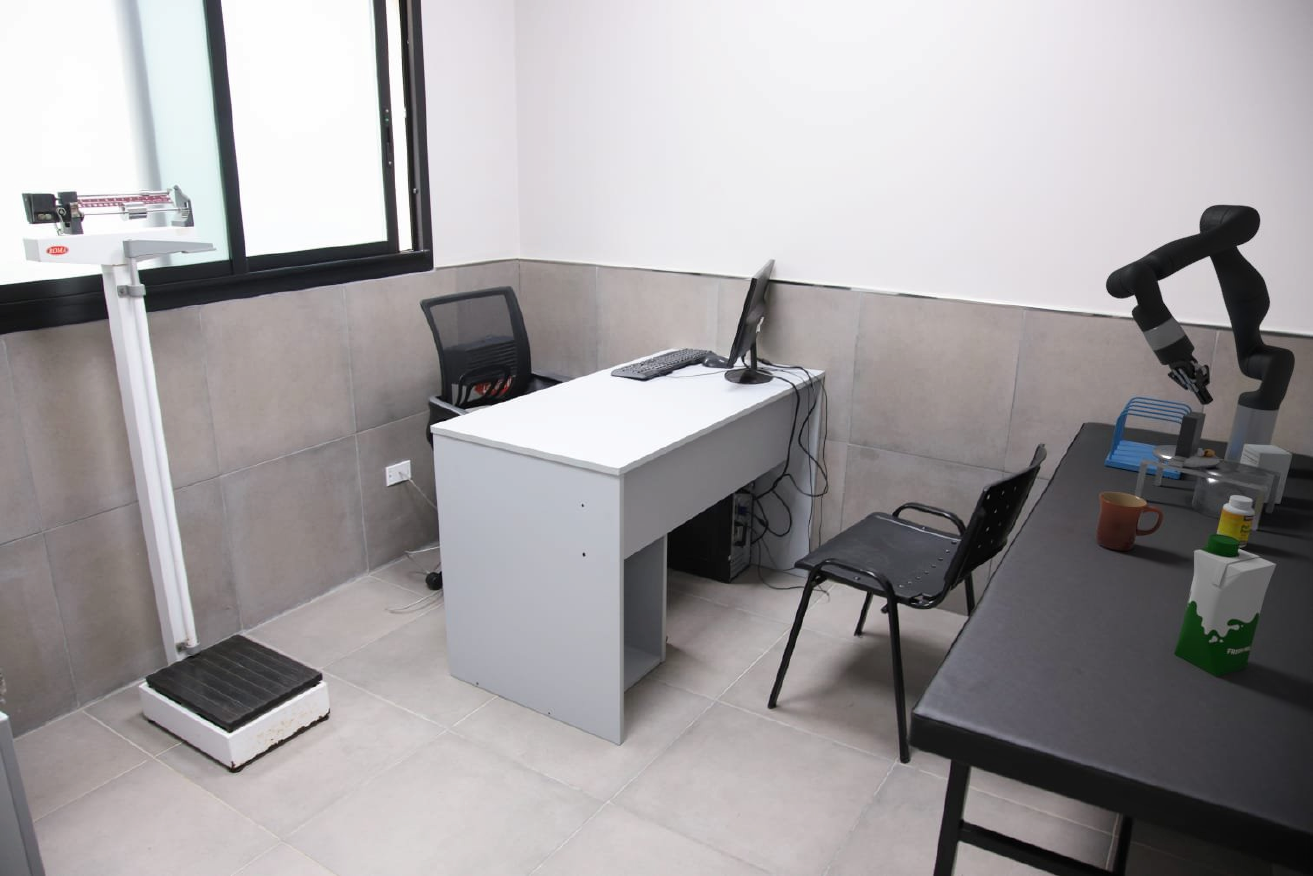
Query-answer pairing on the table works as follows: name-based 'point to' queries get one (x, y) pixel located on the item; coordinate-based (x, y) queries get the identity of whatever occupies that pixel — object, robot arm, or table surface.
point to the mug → (1122, 520)
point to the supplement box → (1268, 464)
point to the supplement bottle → (1237, 519)
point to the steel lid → (1188, 446)
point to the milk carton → (1223, 606)
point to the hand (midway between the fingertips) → (1208, 402)
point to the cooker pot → (1222, 486)
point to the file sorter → (1133, 452)
